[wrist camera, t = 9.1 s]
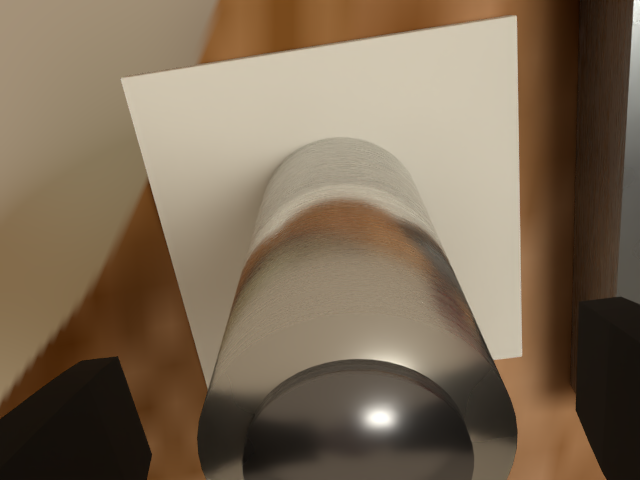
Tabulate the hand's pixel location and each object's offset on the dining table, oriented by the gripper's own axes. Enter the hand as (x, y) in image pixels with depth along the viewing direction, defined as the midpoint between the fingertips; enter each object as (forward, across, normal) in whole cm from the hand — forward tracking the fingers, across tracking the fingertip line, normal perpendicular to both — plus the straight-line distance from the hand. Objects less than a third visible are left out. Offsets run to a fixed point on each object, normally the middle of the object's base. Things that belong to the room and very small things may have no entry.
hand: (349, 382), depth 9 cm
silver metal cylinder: (+6, 0, 0) cm, 6 cm away
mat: (+7, 0, 0) cm, 7 cm away
